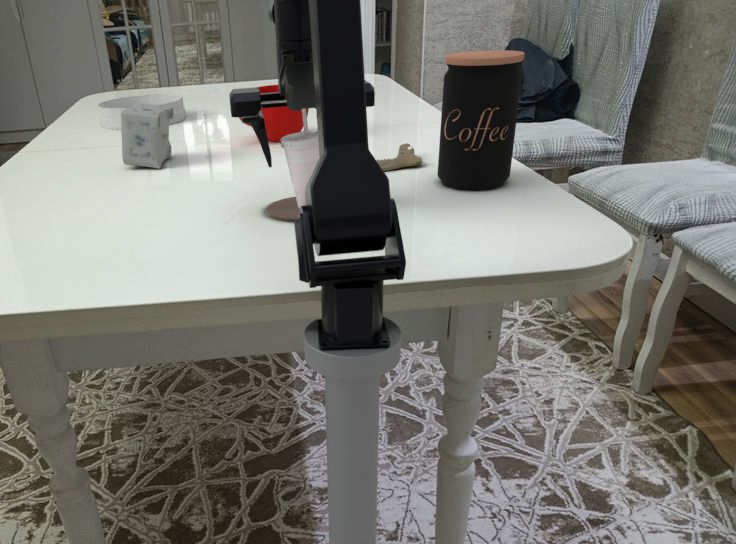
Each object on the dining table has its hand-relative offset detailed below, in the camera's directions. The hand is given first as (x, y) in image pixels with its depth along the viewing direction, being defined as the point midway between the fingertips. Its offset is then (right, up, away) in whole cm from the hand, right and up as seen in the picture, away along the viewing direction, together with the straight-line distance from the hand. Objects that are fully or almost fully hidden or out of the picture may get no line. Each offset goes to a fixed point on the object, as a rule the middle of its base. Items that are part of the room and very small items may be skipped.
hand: (303, 163), depth 88 cm
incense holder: (-27, +10, +35) cm, 46 cm away
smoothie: (+1, -5, +3) cm, 6 cm away
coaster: (0, -6, +3) cm, 6 cm away
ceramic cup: (-4, +18, +47) cm, 50 cm away
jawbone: (+12, +7, +24) cm, 28 cm away
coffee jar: (+27, 0, +10) cm, 28 cm away
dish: (-38, +34, +78) cm, 93 cm away
